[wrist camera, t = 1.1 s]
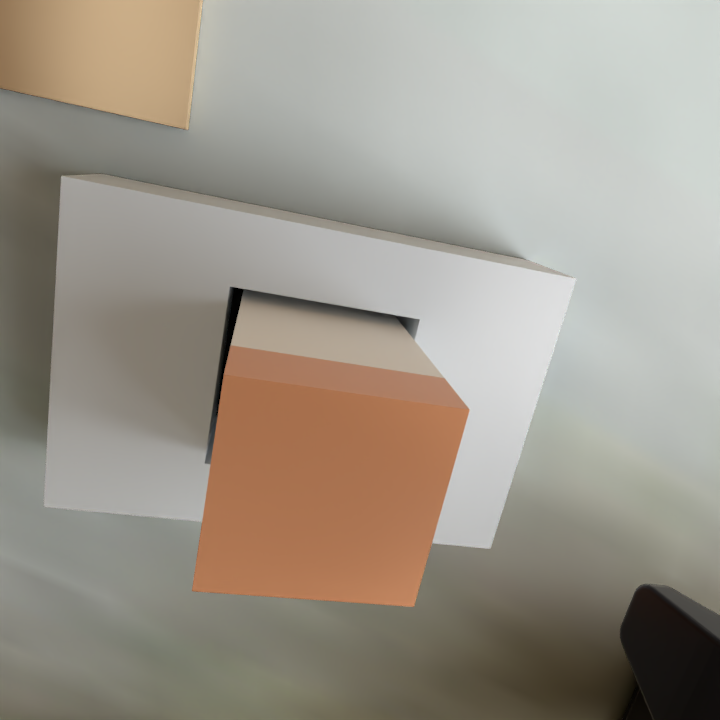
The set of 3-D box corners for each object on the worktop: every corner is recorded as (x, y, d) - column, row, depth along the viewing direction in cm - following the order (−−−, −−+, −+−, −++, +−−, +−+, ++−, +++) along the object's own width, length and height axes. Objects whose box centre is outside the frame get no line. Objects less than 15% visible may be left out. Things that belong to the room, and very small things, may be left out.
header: (527, 259, 17) (576, 278, 14) (459, 493, 19) (490, 548, 17) (101, 173, 15) (61, 175, 12) (81, 450, 17) (43, 506, 14)
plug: (383, 301, 17) (469, 410, 10) (355, 423, 18) (414, 607, 11) (246, 276, 16) (223, 373, 9) (227, 406, 17) (191, 591, 10)
